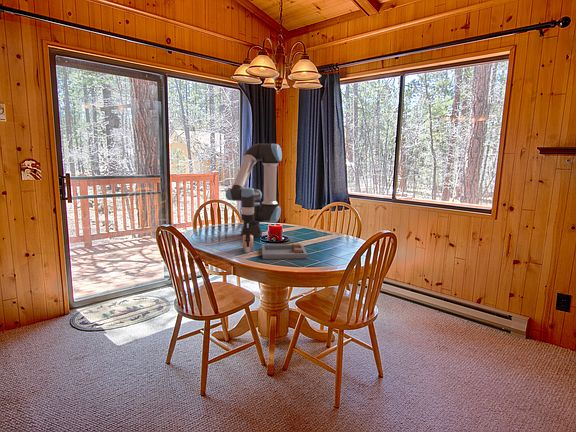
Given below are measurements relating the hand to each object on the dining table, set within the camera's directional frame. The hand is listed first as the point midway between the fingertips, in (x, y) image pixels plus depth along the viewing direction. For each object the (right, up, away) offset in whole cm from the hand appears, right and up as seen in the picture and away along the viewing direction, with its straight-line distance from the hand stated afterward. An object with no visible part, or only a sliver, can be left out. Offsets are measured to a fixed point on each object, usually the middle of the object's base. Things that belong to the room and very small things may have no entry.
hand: (248, 249), depth 222 cm
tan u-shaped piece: (0, -1, 0) cm, 1 cm away
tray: (+22, -2, -8) cm, 23 cm away
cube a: (+29, -1, -2) cm, 29 cm away
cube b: (+30, -3, -12) cm, 33 cm away
